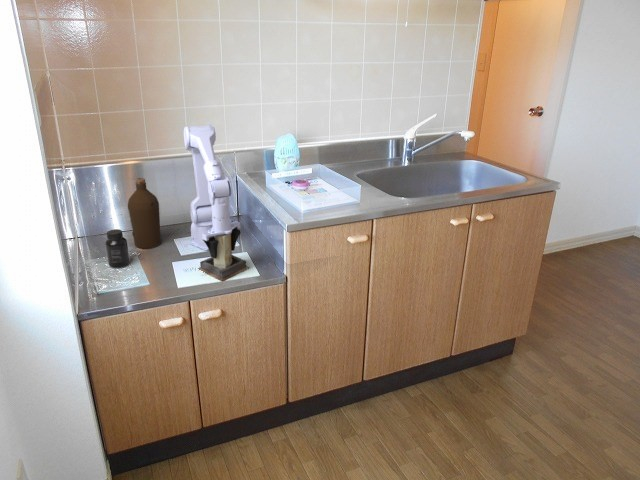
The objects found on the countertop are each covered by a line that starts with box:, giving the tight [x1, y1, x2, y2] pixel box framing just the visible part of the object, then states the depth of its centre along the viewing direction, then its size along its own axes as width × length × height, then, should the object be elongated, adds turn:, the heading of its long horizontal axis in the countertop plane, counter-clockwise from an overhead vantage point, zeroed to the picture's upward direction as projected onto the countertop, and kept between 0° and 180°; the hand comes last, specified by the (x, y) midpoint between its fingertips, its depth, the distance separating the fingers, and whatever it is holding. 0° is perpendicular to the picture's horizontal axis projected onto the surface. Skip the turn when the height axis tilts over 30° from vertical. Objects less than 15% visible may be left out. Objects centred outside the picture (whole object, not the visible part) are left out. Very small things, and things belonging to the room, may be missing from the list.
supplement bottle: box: [104, 228, 130, 269], centre depth 166 cm, size 7×7×12 cm
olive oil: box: [127, 177, 162, 250], centre depth 179 cm, size 11×11×25 cm
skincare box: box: [214, 233, 233, 270], centre depth 165 cm, size 6×4×12 cm
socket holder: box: [197, 254, 250, 282], centre depth 167 cm, size 12×12×3 cm
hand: (222, 253), depth 166 cm, fingers closed on skincare box, 7 cm apart
